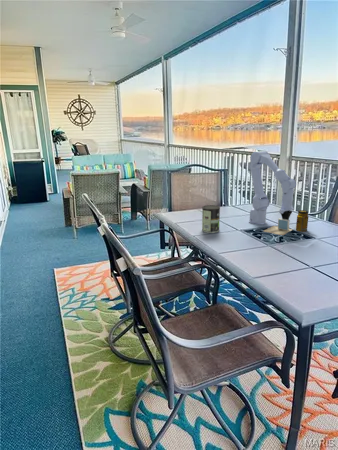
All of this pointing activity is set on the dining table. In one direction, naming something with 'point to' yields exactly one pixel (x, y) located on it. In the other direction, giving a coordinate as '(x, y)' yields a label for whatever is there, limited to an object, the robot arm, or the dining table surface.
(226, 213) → the dining table surface
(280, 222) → the block
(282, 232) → the mat
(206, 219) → the coffee can
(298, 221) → the condiment
